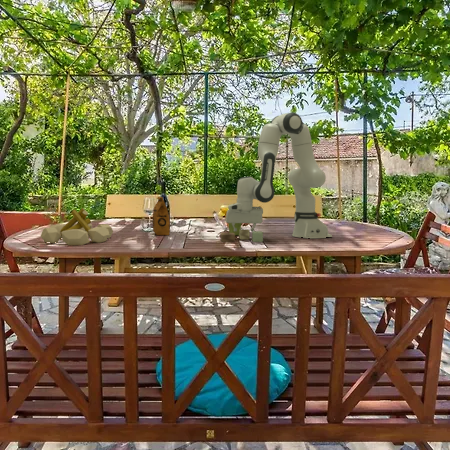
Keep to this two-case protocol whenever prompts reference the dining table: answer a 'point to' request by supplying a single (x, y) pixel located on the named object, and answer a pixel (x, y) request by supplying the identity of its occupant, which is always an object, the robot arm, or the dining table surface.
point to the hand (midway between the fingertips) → (243, 231)
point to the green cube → (257, 236)
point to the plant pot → (237, 225)
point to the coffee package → (161, 218)
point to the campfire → (77, 231)
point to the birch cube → (244, 234)
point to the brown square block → (227, 237)
